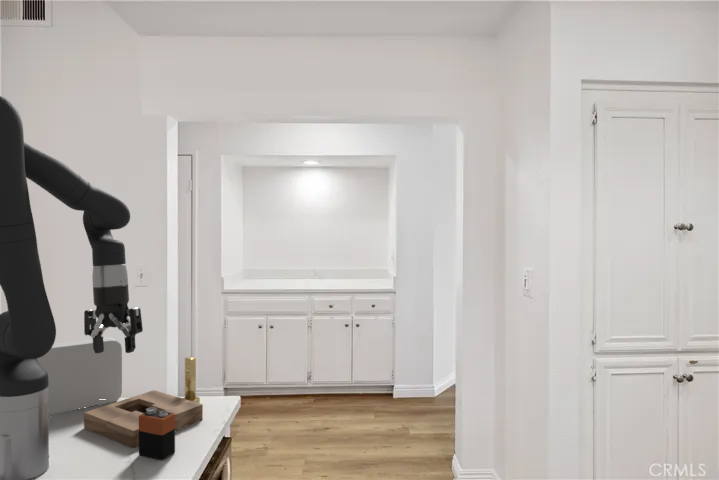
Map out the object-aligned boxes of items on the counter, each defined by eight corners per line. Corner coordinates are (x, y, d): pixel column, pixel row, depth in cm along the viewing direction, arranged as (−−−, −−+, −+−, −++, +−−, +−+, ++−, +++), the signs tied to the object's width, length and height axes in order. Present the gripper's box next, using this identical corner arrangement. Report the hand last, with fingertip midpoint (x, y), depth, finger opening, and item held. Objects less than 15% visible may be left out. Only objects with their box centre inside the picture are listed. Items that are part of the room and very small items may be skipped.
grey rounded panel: (115, 393, 149) (115, 334, 148) (122, 401, 143) (122, 339, 142) (-3, 416, 131) (-3, 348, 130) (0, 425, 125) (-1, 354, 124)
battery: (152, 447, 114) (152, 404, 114) (176, 452, 112) (176, 408, 111) (137, 455, 110) (137, 411, 110) (162, 461, 107) (162, 415, 107)
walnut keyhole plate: (133, 448, 113) (133, 430, 113) (84, 428, 124) (84, 412, 124) (202, 419, 131) (202, 404, 130) (153, 404, 141) (153, 390, 141)
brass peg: (188, 408, 138) (189, 361, 138) (176, 404, 141) (176, 359, 141) (203, 402, 143) (203, 357, 142) (191, 398, 146) (191, 355, 145)
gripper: (73, 287, 116) (77, 356, 116) (125, 284, 113) (129, 355, 112) (97, 284, 123) (101, 349, 123) (146, 281, 120) (150, 348, 120)
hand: (114, 352), depth 118 cm, fingers open, 8 cm apart
